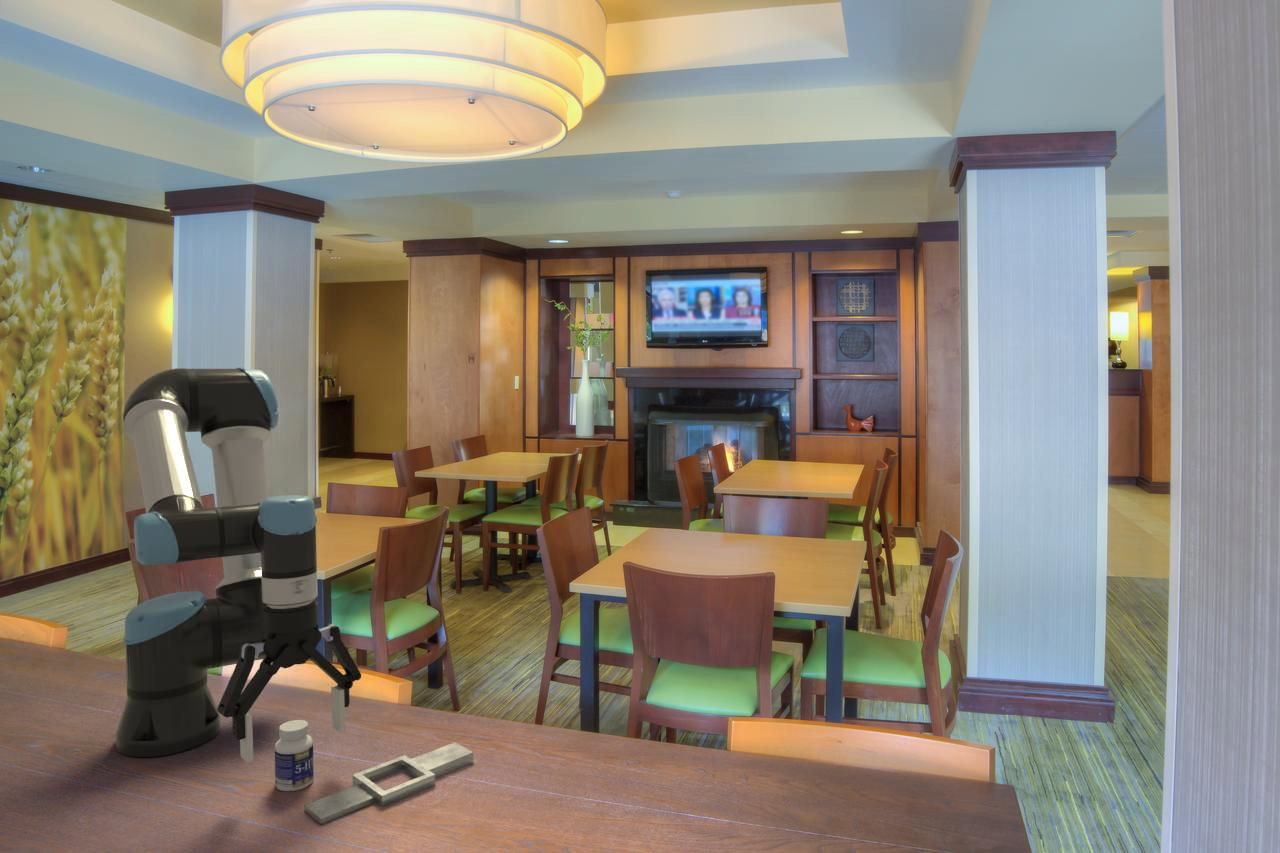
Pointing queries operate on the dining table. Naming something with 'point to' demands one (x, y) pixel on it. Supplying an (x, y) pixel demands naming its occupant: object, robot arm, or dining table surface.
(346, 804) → the square frame bracket
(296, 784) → the pill bottle
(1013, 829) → the dining table surface
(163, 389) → the robot arm
